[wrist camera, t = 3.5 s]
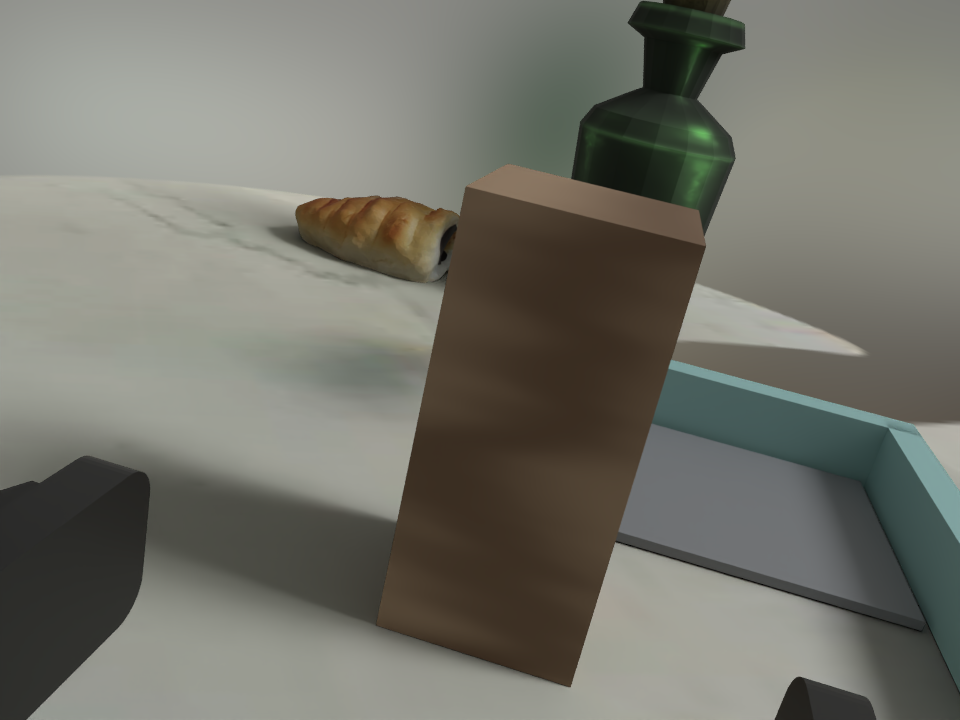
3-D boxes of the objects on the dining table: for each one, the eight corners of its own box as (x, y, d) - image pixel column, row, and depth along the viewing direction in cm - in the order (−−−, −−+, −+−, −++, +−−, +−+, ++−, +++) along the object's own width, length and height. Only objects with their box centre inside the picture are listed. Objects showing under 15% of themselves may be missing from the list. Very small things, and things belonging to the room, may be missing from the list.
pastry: (268, 245, 47) (277, 175, 46) (324, 229, 54) (334, 167, 52) (428, 293, 45) (442, 221, 44) (468, 270, 52) (481, 206, 50)
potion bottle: (549, 277, 53) (628, -44, 47) (682, 312, 52) (782, -12, 45) (526, 311, 45) (617, -68, 39) (681, 353, 44) (801, -31, 38)
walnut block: (376, 625, 20) (465, 186, 16) (427, 528, 24) (508, 163, 20) (570, 687, 19) (705, 245, 16) (588, 577, 23) (698, 210, 20)
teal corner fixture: (431, 634, 20) (453, 540, 19) (538, 385, 36) (553, 328, 35) (1080, 839, 18) (1136, 746, 17) (889, 482, 34) (913, 424, 33)
